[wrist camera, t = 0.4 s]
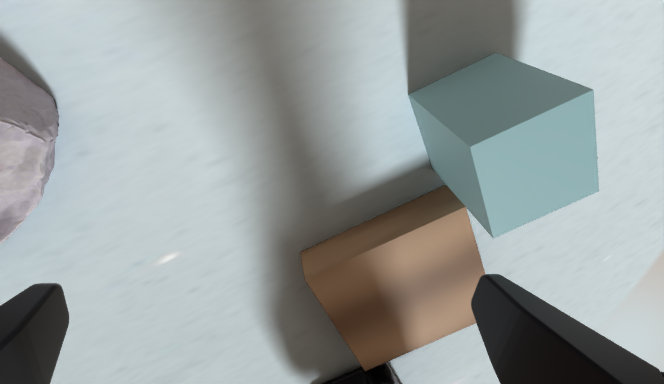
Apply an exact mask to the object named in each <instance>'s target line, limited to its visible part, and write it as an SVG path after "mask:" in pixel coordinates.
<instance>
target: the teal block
mask: <svg viewBox="0 0 664 384" xmlns="http://www.w3.org/2000/svg"><path fill="white" fill-rule="evenodd" d="M408 96H409V99H410V102H411V105H412V108H413V111H414V114H415V117H416V120H417V123H418V126H419V129H420V132H421V135H422V138H423V141H424V144H425V147H426V150H427V153H428V157H429V160H430V163H431V166H432V169H433V170H434V171H435V172H436V173H437V175H438V176H439V177H440V178H441V179H442V180H443V181H444V183H445V184H446V185H447V186H448V187H449V188H450V189H451V191H452V192H453V193H454V194H455V195H456V196H457V197H458V199H459V200H460V201H461V202H462V203H463V204H464V205H465V207H466V208H467V209H468V210H469V211H470V212H471V213H472V215H473V216H474V217H475V218H476V219H477V220H478V221H479V223H480V224H481V225H482V226H483V227H484V228H485V229H486V231H487V232H488V233H489V234H490V235H491V236H492V237H493V238H495V237H498V236H500V235H502V234H504V233H507V232H509V231H511V230H513V229H515V228H518V227H520V226H522V225H524V224H527V223H529V222H531V221H533V220H536V219H538V218H540V217H542V216H544V215H547V214H549V213H551V212H553V211H556V210H558V209H560V208H562V207H565V206H567V205H569V204H571V203H573V202H576V201H578V200H580V199H582V198H585V197H587V196H589V195H591V194H593V193H596V192H598V191H599V184H598V166H597V147H596V129H595V110H594V92H593V89H590V88H588V87H585V86H583V85H580V84H577V83H575V82H572V81H569V80H567V79H564V78H561V77H559V76H556V75H553V74H551V73H548V72H546V71H543V70H540V69H538V68H535V67H532V66H530V65H527V64H524V63H522V62H519V61H516V60H514V59H511V58H509V57H506V56H503V55H501V54H498V53H494V54H492V55H490V56H488V57H485V58H483V59H481V60H479V61H477V62H475V63H473V64H471V65H469V66H467V67H465V68H463V69H460V70H458V71H456V72H454V73H452V74H450V75H448V76H446V77H444V78H442V79H440V80H437V81H435V82H433V83H431V84H429V85H427V86H425V87H423V88H421V89H419V90H417V91H414V92H412V93H410V94H408Z"/></svg>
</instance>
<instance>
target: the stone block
mask: <svg viewBox="0 0 664 384" xmlns="http://www.w3.org/2000/svg"><path fill="white" fill-rule="evenodd" d="M58 120H59V115H58V111H57V110H56V106H55V101H54V99H53V97H52V96H50V95H49V94H48V93H47V92H46V91H45V90H44V89H42V88H41V87H39V86H37V85H36V84H34V83H33V82H32V81H30V80H29V79H28V78H27V77H25V76H24V75H23V74H22V73H20V72H19V71H18V70H17V69H16V68H15V67H14V66H12V65H10V64H9V63H7V62H6V61H5V60H3V59H2V58H0V243H2V242H4V241H5V240H6V239H8V238H9V236H10V235H11V234H12V233H13V232H14V231H15V230H16V229H17V228H18V227H19V226H20V225H21V223H22V222H23V221H24V220H25V219H26V217H27V216H28V215H29V214H30V213H31V212H32V211H33V209H34V208H35V207H36V206H37V204H38V203H39V202H40V200H41V199H42V196H43V192H44V186H45V184H46V183H47V181H48V179H49V176H50V173H51V172H52V170H53V168H54V156H55V140H56V137H57V136H58V127H59V123H58Z"/></svg>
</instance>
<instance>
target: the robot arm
mask: <svg viewBox="0 0 664 384" xmlns="http://www.w3.org/2000/svg"><path fill="white" fill-rule="evenodd" d="M471 308H472V312H473V315H474V317H475V320H476V323H477V326H478V328H479V331H480V334H481V336H482V339H483V342H484V345H485V347H486V350H487V353H488V355H489V358H490V361H491V363H492V366H493V368H494V370H495V373H496V375H497V377H498V379H499V381H500V383H501V384H664V372H660V371H659V369H657V368H656V367H654V366H653V365H651V364H649V363H647V362H646V361H644V360H642V359H641V358H639V357H637V356H636V355H634V354H632V353H631V352H629V351H627V350H626V349H624V348H622V347H621V346H619V345H617V344H615V343H614V342H612V341H611V340H609V339H607V338H606V337H604V336H602V335H600V334H599V333H597V332H595V331H594V330H592V329H590V328H589V327H587V326H585V325H584V324H582V323H580V322H579V321H577V320H575V319H574V318H572V317H570V316H569V315H567V314H565V313H564V312H562V311H560V310H558V309H557V308H555V307H553V306H552V305H550V304H548V303H547V302H545V301H543V300H542V299H540V298H538V297H537V296H535V295H533V294H532V293H530V292H528V291H527V290H525V289H523V288H522V287H520V286H518V285H517V284H515V283H513V282H511V281H510V280H508V279H506V278H505V277H503V276H501V275H499V274H485V275H482V276H481V277H480V279H479V281H478V284H477V286H476V289H475V291H474V294H473V297H472V300H471ZM68 324H69V312H68V308H67V304H66V300H65V296H64V292H63V289H62V287H61V285H59V284H57V283H40V284H34V285H32V286H30V287H29V288H27V289H26V290H24V291H23V292H21V293H19V294H18V295H16V296H15V297H13V298H12V299H10V300H9V301H7V302H5V303H4V304H2V305H1V306H0V384H50V382H51V379H52V376H53V372H54V369H55V366H56V363H57V360H58V357H59V354H60V350H61V347H62V344H63V341H64V338H65V335H66V331H67V328H68ZM325 384H400V383H399V381H398V380H397V378H396V376H395V375H394V373H393V371H392V369H391V368H390V366H389V364H388V363H387V362H385V363H383V364H381V365H378V366H376V367H374V368H371V369H369V370H367V371H365V370H364V369H363V367H362V368H359V369H357V370H355V371H353V372H350V373H348V374H346V375H343V376H341V377H339V378H337V379H334V380H332V381H330V382H327V383H325Z"/></svg>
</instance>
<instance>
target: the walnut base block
mask: <svg viewBox="0 0 664 384" xmlns="http://www.w3.org/2000/svg"><path fill="white" fill-rule="evenodd" d="M300 255H301V260H302V266H303V272H304V278H305V281H306V282H307V284H308V285H309V287H310V288H311V290H312V291H313V293H314V294H315V296H316V298H317V299H318V301H319V302H320V304H321V305H322V307H323V308H324V310H325V311H326V313H327V314H328V316H329V317H330V319H331V320H332V322H333V323H334V325H335V326H336V328H337V329H338V331H339V332H340V334H341V336H342V337H343V339H344V340H345V342H346V343H347V345H348V346H349V348H350V349H351V351H352V352H353V354H354V355H355V357H356V358H357V360H358V361H359V363H360V364H361V366H362V367H363V369H364V370H365V371H367V370H369V369H371V368H374V367H376V366H378V365H381V364H383V363H385V362H388V361H390V360H392V359H394V358H397V357H399V356H401V355H404V354H406V353H408V352H411V351H413V350H415V349H417V348H420V347H422V346H424V345H427V344H429V343H431V342H434V341H436V340H438V339H440V338H443V337H445V336H447V335H450V334H452V333H454V332H457V331H459V330H461V329H463V328H466V327H468V326H470V325H473V324H475V323H476V320H475V317H474V315H473V312H472V308H471V300H472V297H473V294H474V291H475V289H476V286H477V284H478V281H479V279H480V277H481V276H482V275H485V272H484V268H483V265H482V261H481V258H480V254H479V251H478V248H477V244H476V241H475V237H474V234H473V230H472V227H471V224H470V220H469V217H468V213H467V210H466V207H465V205H464V204H463V203H462V202H461V201H460V200H459V199H458V197H457V196H456V195H455V194H454V193H453V192H452V191H451V189H450V188H449V187H448V186H447V185H445V186H443V187H440V188H438V189H436V190H434V191H432V192H429V193H427V194H425V195H423V196H421V197H419V198H416V199H414V200H412V201H410V202H408V203H406V204H403V205H401V206H399V207H397V208H395V209H393V210H390V211H388V212H386V213H384V214H382V215H380V216H377V217H375V218H373V219H371V220H369V221H367V222H364V223H362V224H360V225H358V226H356V227H354V228H351V229H349V230H347V231H345V232H343V233H340V234H338V235H336V236H334V237H332V238H330V239H327V240H325V241H323V242H321V243H319V244H317V245H314V246H312V247H310V248H308V249H306V250H304V251H301V252H300Z"/></svg>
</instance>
